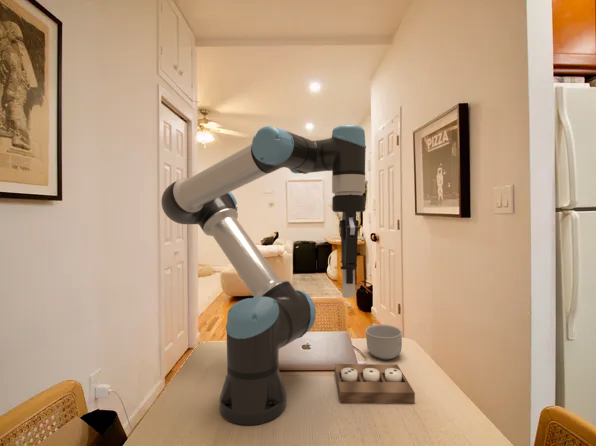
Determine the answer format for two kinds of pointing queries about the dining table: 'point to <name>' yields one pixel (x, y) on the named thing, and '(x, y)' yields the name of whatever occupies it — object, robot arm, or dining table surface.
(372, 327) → the teacup
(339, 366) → the panel
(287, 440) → the dining table surface
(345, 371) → the button three
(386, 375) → the button two
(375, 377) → the button one
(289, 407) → the dining table surface
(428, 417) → the dining table surface
